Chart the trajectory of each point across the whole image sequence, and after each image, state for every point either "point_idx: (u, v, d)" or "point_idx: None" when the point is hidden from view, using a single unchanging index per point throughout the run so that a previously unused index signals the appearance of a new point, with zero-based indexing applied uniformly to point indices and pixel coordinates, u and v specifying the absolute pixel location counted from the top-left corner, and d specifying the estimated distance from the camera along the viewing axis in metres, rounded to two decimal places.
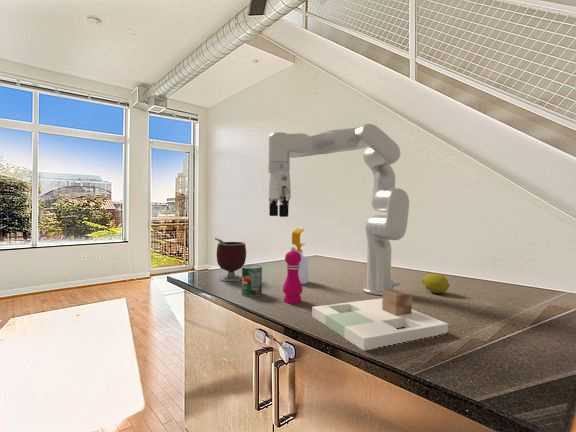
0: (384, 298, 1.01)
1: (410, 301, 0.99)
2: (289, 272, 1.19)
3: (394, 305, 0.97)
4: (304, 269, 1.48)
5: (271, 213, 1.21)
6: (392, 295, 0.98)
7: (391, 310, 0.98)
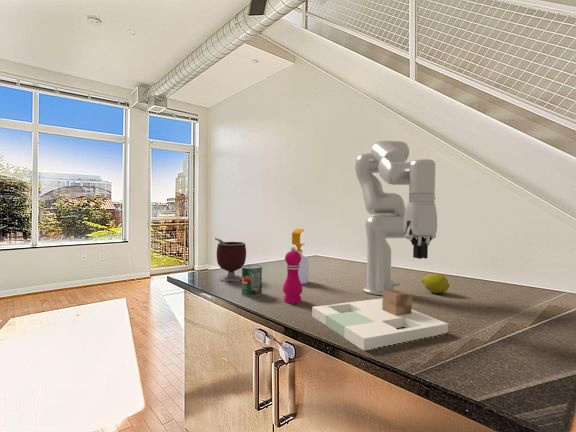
0: (384, 298, 1.01)
1: (410, 301, 0.99)
2: (289, 272, 1.19)
3: (394, 305, 0.97)
4: (304, 269, 1.48)
5: None
6: (392, 295, 0.98)
7: (391, 310, 0.98)
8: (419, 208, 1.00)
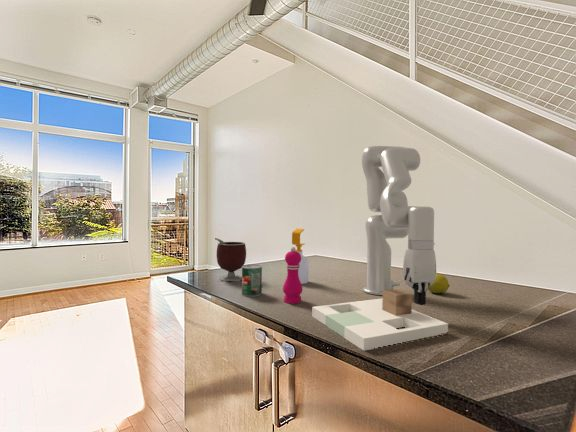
0: (384, 298, 1.01)
1: (410, 301, 0.99)
2: (289, 272, 1.19)
3: (394, 305, 0.97)
4: (304, 269, 1.48)
5: None
6: (392, 295, 0.98)
7: (391, 310, 0.98)
8: (418, 255, 1.00)
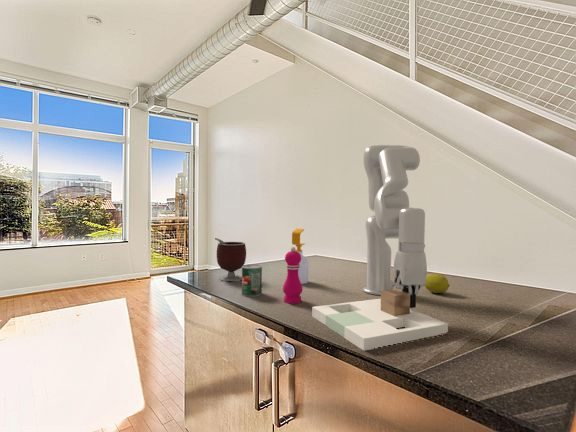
0: (382, 298, 1.01)
1: (408, 301, 0.98)
2: (289, 272, 1.19)
3: (392, 305, 0.97)
4: (304, 269, 1.48)
5: None
6: (390, 295, 0.97)
7: (389, 310, 0.98)
8: (408, 258, 0.99)
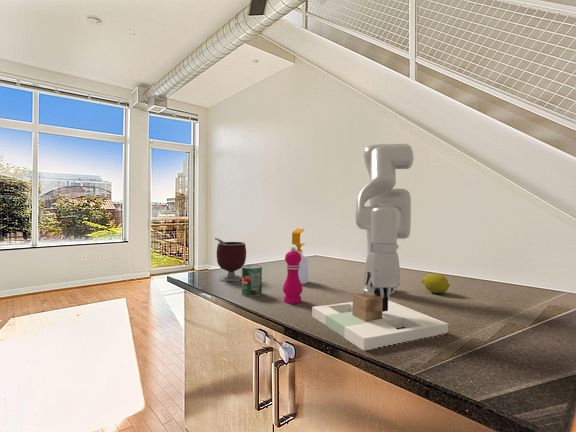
0: (354, 303, 0.96)
1: (381, 306, 0.94)
2: (289, 272, 1.19)
3: (364, 310, 0.92)
4: (304, 269, 1.48)
5: None
6: (362, 300, 0.93)
7: (360, 315, 0.93)
8: (380, 259, 0.94)
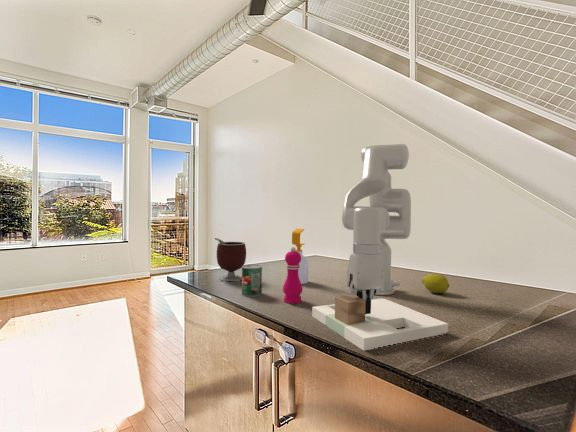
0: (336, 305, 0.93)
1: (364, 308, 0.91)
2: (289, 272, 1.19)
3: (346, 313, 0.89)
4: (304, 269, 1.48)
5: None
6: (344, 302, 0.90)
7: (343, 318, 0.90)
8: (362, 261, 0.92)
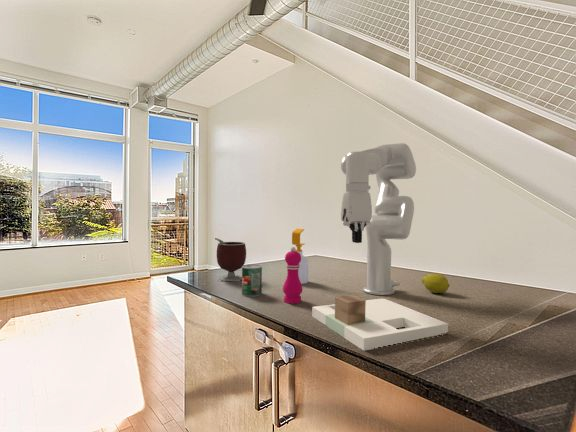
0: (336, 305, 0.93)
1: (364, 308, 0.91)
2: (289, 272, 1.19)
3: (346, 313, 0.89)
4: (304, 269, 1.48)
5: None
6: (344, 302, 0.90)
7: (343, 318, 0.90)
8: (353, 197, 1.09)
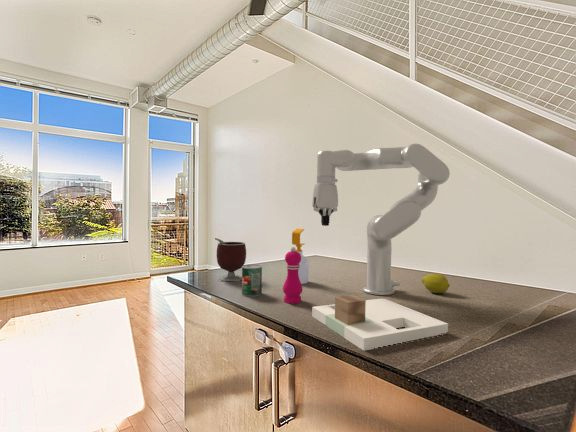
0: (336, 305, 0.93)
1: (364, 308, 0.91)
2: (289, 272, 1.19)
3: (346, 313, 0.89)
4: (304, 269, 1.48)
5: None
6: (344, 302, 0.90)
7: (343, 318, 0.90)
8: (322, 187, 1.33)
